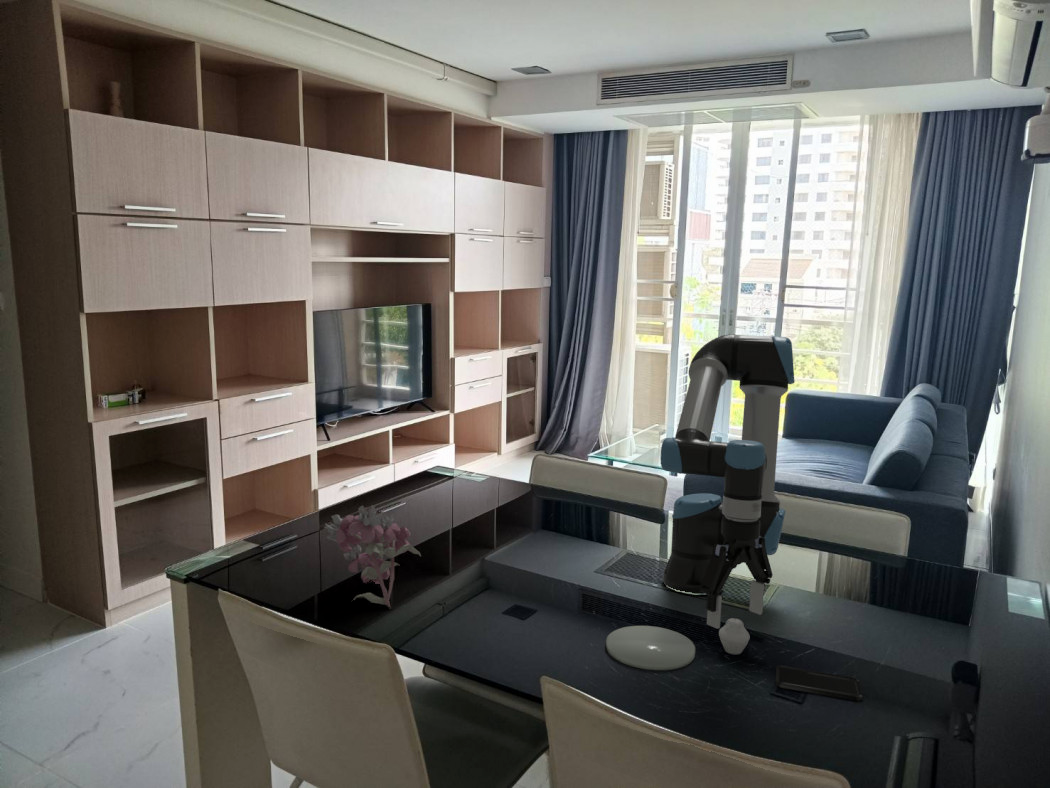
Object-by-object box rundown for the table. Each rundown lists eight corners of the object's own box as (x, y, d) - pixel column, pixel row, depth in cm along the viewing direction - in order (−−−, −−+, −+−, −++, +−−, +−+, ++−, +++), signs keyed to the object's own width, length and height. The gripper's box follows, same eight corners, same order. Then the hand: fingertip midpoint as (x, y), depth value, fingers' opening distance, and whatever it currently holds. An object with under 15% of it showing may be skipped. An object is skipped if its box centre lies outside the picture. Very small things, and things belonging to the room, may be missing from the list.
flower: (452, 585, 185) (420, 488, 189) (399, 607, 165) (365, 498, 169) (388, 607, 193) (358, 513, 197) (330, 631, 173) (299, 525, 177)
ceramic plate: (588, 643, 158) (588, 638, 158) (649, 624, 169) (649, 619, 169) (651, 678, 144) (651, 672, 144) (713, 655, 155) (713, 649, 155)
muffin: (743, 660, 153) (745, 627, 152) (713, 652, 156) (715, 620, 155) (752, 649, 158) (754, 617, 157) (723, 641, 161) (725, 610, 160)
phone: (862, 698, 138) (775, 682, 142) (862, 703, 138) (775, 688, 142) (859, 678, 145) (776, 664, 150) (858, 684, 145) (776, 669, 150)
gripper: (715, 530, 143) (709, 639, 145) (794, 513, 158) (787, 612, 160) (685, 521, 149) (679, 625, 151) (763, 506, 164) (757, 601, 166)
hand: (735, 619), depth 156 cm, fingers open, 13 cm apart
